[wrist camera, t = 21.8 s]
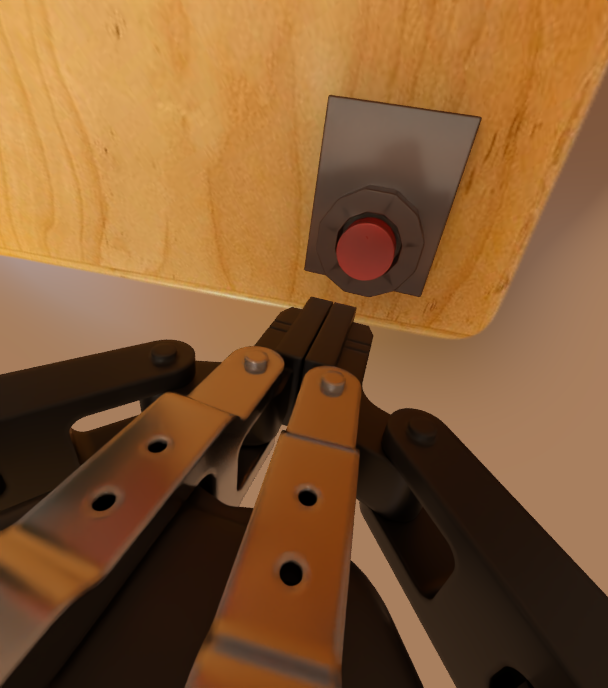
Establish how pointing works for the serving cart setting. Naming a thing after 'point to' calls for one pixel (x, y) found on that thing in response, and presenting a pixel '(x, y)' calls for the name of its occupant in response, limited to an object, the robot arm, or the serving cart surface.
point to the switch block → (387, 185)
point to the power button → (366, 249)
